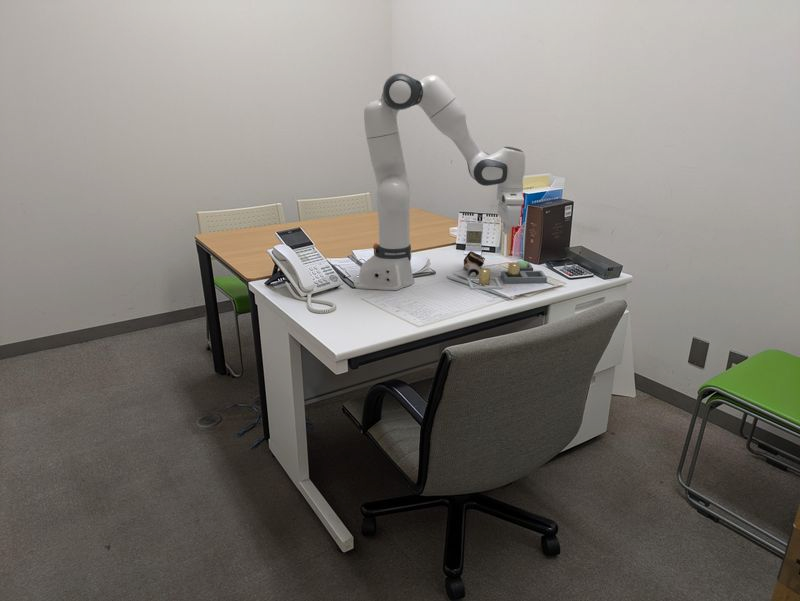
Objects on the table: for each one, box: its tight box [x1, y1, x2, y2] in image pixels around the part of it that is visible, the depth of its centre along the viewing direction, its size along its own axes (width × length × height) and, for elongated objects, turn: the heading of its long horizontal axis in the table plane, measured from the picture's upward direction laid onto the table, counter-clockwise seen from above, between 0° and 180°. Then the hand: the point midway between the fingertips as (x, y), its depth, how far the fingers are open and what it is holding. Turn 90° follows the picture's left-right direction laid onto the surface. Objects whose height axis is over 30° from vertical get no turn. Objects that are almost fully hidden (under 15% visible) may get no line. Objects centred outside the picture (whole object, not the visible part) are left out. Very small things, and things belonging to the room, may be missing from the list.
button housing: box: [519, 262, 534, 271], centre depth 207 cm, size 7×7×4 cm
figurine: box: [463, 251, 486, 278], centre depth 208 cm, size 9×8×15 cm
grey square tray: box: [466, 276, 503, 290], centre depth 197 cm, size 11×11×2 cm
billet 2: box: [507, 261, 520, 277], centre depth 199 cm, size 4×4×6 cm
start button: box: [516, 260, 529, 268], centre depth 207 cm, size 4×4×4 cm
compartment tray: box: [499, 270, 549, 285], centre depth 200 cm, size 16×9×3 cm, turn 90°
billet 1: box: [478, 267, 491, 286], centre depth 196 cm, size 4×4×6 cm
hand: (506, 233), depth 197 cm, fingers closed
